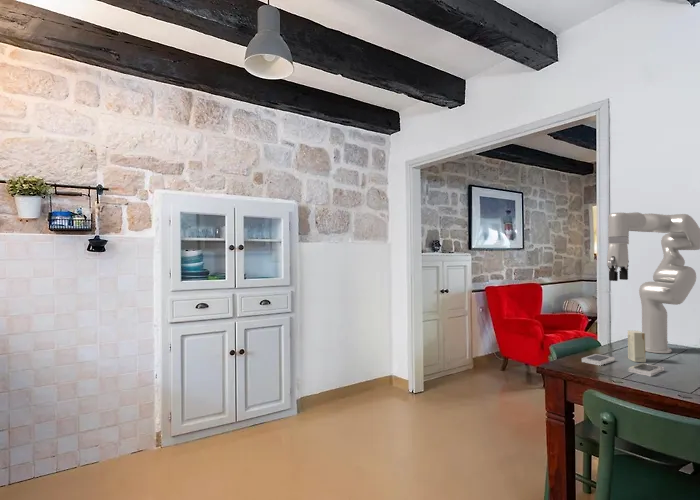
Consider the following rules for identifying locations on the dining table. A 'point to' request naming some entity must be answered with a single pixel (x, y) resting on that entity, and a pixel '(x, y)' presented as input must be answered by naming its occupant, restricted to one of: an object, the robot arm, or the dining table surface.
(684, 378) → the dining table surface
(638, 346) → the skincare box
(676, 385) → the dining table surface
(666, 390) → the dining table surface
